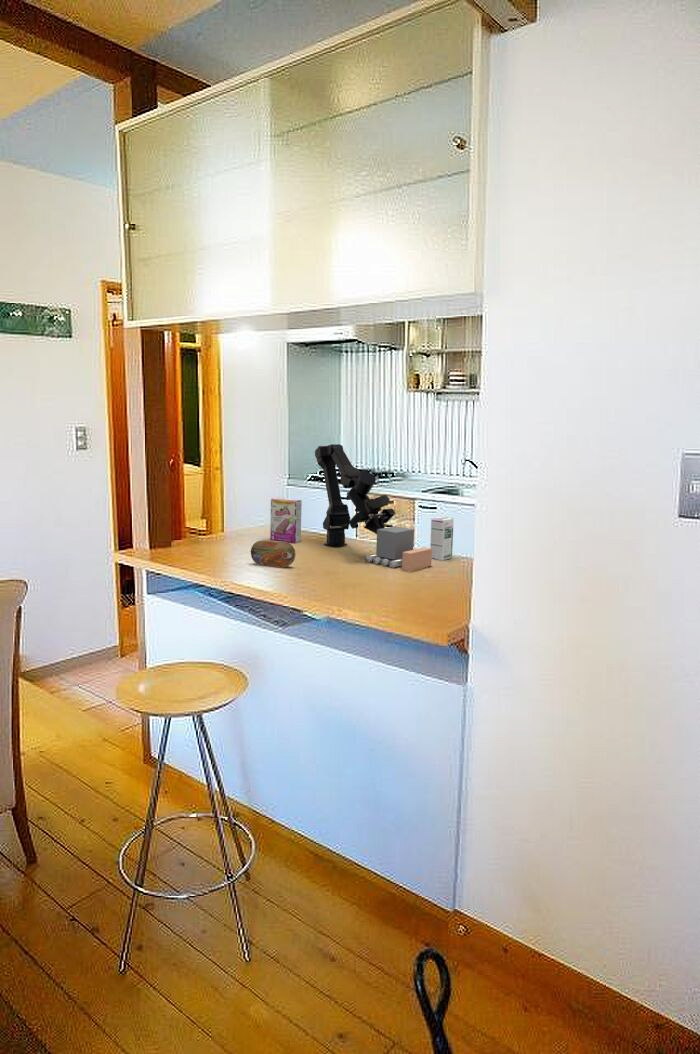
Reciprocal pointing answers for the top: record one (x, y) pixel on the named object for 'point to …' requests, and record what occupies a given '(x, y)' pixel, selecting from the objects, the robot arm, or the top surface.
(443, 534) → the syrup box
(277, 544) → the tin
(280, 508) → the candy bar box
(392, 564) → the roller track
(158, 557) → the top surface
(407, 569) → the block
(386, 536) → the grey block
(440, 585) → the top surface
